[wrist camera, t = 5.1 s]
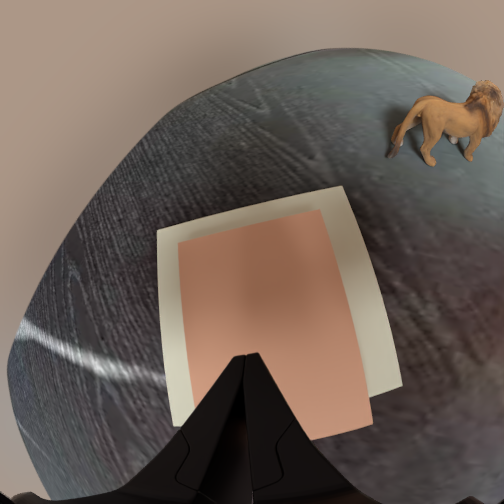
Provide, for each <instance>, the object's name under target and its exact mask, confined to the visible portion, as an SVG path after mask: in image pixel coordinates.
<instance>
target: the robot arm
mask: <svg viewBox="0 0 504 504" xmlns="http://www.w3.org/2000/svg"><path fill="white" fill-rule="evenodd" d="M180 429H181V430H180ZM180 429H179V430H178V431H177V433H176V434H175V435H174V436H173V438H172V439H171V440H170V441H169V442H168V444H167V445H166V446H165V447H164V448H163V449H162V450H161V451H160V452H159V453H158V454H157V456H156V457H155V458H154V459H153V460H152V461H150V462H149V463H148V464H147V465H146V466H145V467H144V468H143V469H142V470H141V471H140V472H139V473H138V474H137V475H135V476H134V477H133V478H132V479H131V480H130V481H129V482H128V483H126V484H125V485H124V486H122V487H120V488H119V489H117V490H114V491H111V492H107V493H103V494H98V495H93V496H88V497H82V498H75V499H68V500H58V501H53V500H46V499H42V498H40V497H39V496H37V495H36V494H34V493H32V492H25V493H20V494H17V495H15V496H13V497H12V498H9V497H8V496H6V495H5V494H4V493H2V492H1V491H0V504H252V490H253V504H381V503H379V502H378V501H376V500H374V499H372V498H371V497H369V496H367V495H366V494H364V493H362V492H361V491H359V490H358V489H357V488H356V487H354V486H353V485H352V484H351V483H350V482H349V481H348V480H347V479H346V478H345V477H344V476H343V475H342V474H341V473H340V472H339V471H338V470H337V469H336V468H335V467H334V466H333V465H332V464H331V463H330V462H329V461H328V460H327V459H326V458H325V456H324V455H323V454H322V453H321V452H320V451H319V450H318V448H317V447H316V446H315V445H314V444H313V442H312V441H311V440H310V438H309V437H308V436H307V434H306V433H305V431H304V430H303V428H302V426H301V425H300V423H299V421H298V420H297V419H296V417H295V415H294V413H293V412H292V410H291V408H290V406H289V405H288V403H287V401H286V400H285V398H284V396H283V394H282V393H281V391H280V389H279V387H278V386H277V384H276V382H275V380H274V379H273V377H272V375H271V373H270V372H269V370H268V368H267V366H266V364H265V363H264V361H263V359H262V357H261V355H260V354H259V353H258V352H255V353H250V354H247V355H245V354H243V355H237V356H234V357H233V358H232V359H231V360H230V362H229V363H228V365H227V366H226V367H225V369H224V370H223V372H222V373H221V374H220V376H219V377H218V378H217V380H216V381H215V383H214V384H213V385H212V387H211V388H210V389H209V391H208V392H207V393H206V395H205V396H204V397H203V399H202V400H201V401H200V403H199V404H198V405H197V407H196V408H195V409H194V411H193V412H192V413H191V415H190V416H189V417H188V419H187V420H186V421H185V422H184V424H183V425H182V426H181V428H180ZM456 504H484V503H483V502H481V501H479V500H478V499H476V498H475V497H473V496H469V497H467V498H465V499H463V500H462V501H460V502H458V503H456ZM498 504H504V499H503V500H502V501H501V502H499V503H498Z"/></svg>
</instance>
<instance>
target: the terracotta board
mask: <svg viewBox="0 0 504 504" xmlns="http://www.w3.org/2000/svg"><path fill="white" fill-rule="evenodd" d="M178 259H179V276H180V290H181V303H182V314H183V324H184V333H185V342H186V351H187V359H188V366H189V373H190V380H191V387H192V394H193V400H194V406H195V408H196V407H197V405H198V404H199V403H200V401H201V400H202V399H203V397H204V396H205V395H206V393H207V392H208V391H209V389H210V388H211V387H212V385H213V384H214V383H215V381H216V380H217V378H218V377H219V376H220V374H221V373H222V372H223V370H224V369H225V367H226V366H227V365H228V363H229V362H230V360H231V359H232V358H233V357H234V356H237V355H243V354H245V355H247V354H250V353H255V352H258V353H259V354H260V355H261V357H262V359H263V361H264V363H265V364H266V366H267V368H268V370H269V372H270V373H271V375H272V377H273V379H274V380H275V382H276V384H277V386H278V387H279V389H280V391H281V393H282V394H283V396H284V398H285V400H286V401H287V403H288V405H289V406H290V408H291V410H292V412H293V413H294V415H295V417H296V419H297V420H298V421H299V423H300V425H301V426H302V428H303V430H304V431H305V433H306V434H307V436H308V437H309V438H310V440H314V439H318V438H323V437H327V436H332V435H336V434H340V433H344V432H347V431H351V430H355V429H358V428H361V427H365V426H368V425H371V424H373V420H372V413H371V407H370V401H369V395H368V390H367V384H366V379H365V374H364V369H363V364H362V359H361V354H360V350H359V345H358V341H357V336H356V332H355V328H354V324H353V320H352V316H351V312H350V308H349V304H348V300H347V296H346V293H345V289H344V285H343V282H342V278H341V275H340V271H339V268H338V264H337V261H336V258H335V254H334V251H333V248H332V245H331V241H330V238H329V235H328V232H327V229H326V226H325V223H324V220H323V217H322V214H321V211H320V209H318V210H313V211H309V212H304V213H300V214H295V215H291V216H287V217H282V218H278V219H274V220H269V221H265V222H261V223H256V224H252V225H248V226H244V227H240V228H235V229H231V230H227V231H223V232H219V233H215V234H211V235H207V236H203V237H199V238H195V239H191V240H187V241H183V242H180V243H178Z"/></svg>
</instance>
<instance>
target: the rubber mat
mask: <svg viewBox="0 0 504 504" xmlns="http://www.w3.org/2000/svg"><path fill="white" fill-rule="evenodd" d="M318 209H320V211H321V214H322V217H323V220H324V223H325V226H326V229H327V232H328V235H329V238H330V241H331V245H332V248H333V251H334V254H335V258H336V261H337V264H338V268H339V271H340V275H341V278H342V282H343V285H344V289H345V293H346V296H347V300H348V304H349V308H350V312H351V316H352V320H353V324H354V328H355V332H356V336H357V341H358V345H359V350H360V354H361V359H362V364H363V369H364V374H365V379H366V384H367V390H368V395H369V397H372V396H375V395H378V394H381V393H384V392H387V391H390V390H392V389H395V388H398V387H401V386H402V380H401V375H400V370H399V365H398V360H397V355H396V350H395V346H394V342H393V337H392V333H391V329H390V325H389V321H388V317H387V313H386V310H385V306H384V303H383V299H382V296H381V292H380V289H379V285H378V282H377V279H376V276H375V273H374V269H373V266H372V263H371V260H370V257H369V254H368V252H367V249H366V246H365V243H364V240H363V237H362V235H361V232H360V229H359V227H358V224H357V221H356V219H355V216H354V214H353V211H352V209H351V206H350V204H349V201H348V199H347V196H346V194H345V192H344V189H343V187H342V186H337V187H332V188H328V189H323V190H318V191H313V192H308V193H304V194H299V195H294V196H290V197H285V198H281V199H277V200H272V201H268V202H264V203H259V204H255V205H251V206H247V207H243V208H239V209H235V210H231V211H227V212H223V213H219V214H215V215H211V216H207V217H204V218H200V219H196V220H192V221H189V222H185V223H181V224H178V225H174V226H171V227H167V228H164V229H160V230H157V266H158V294H159V312H160V325H161V337H162V348H163V357H164V366H165V374H166V382H167V389H168V395H169V402H170V408H171V414H172V420H173V425H174V426H182V425H183V424H184V422H185V421H186V420H187V419H188V417H189V416H190V415H191V413H192V412H193V411H194V409H195V406H194V400H193V394H192V387H191V380H190V373H189V366H188V359H187V351H186V342H185V333H184V324H183V314H182V303H181V290H180V276H179V259H178V243H180V242H183V241H187V240H191V239H195V238H199V237H203V236H207V235H211V234H215V233H219V232H223V231H227V230H231V229H235V228H240V227H244V226H248V225H252V224H256V223H261V222H265V221H269V220H274V219H278V218H282V217H287V216H291V215H295V214H300V213H304V212H309V211H313V210H318Z"/></svg>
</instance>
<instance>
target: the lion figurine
mask: <svg viewBox="0 0 504 504" xmlns="http://www.w3.org/2000/svg"><path fill="white" fill-rule="evenodd" d="M503 108H504V102H503V98H502V95H501V91H500V90H499V88H498V87H497V86H496V85H494V84H493V83H492V82H490V81H489V80H485V81H478V82H476V86H473V88H472V91H471V93H470V96H469V97H468V98H467V100H466V102H465V103H451V102H447V101H445V100H443V99H441V98H438V97H435V96H424V97H421V98H419V99H417V101H416V102H415V103H414V105H413V107H412V109H411V110H410V111H409V113H408V114H407V116H406V117H405V119H404V121H403V122H402V123H401V124H399V125H398V126H396V128H395V130H394V133H393V135H392V138H391V141H392V143H393V144H394V145H395V146H394V148H393V149H392V151H391V152H390V153H389V154H388V158H394V157H395V156H396V154H397V153H398V151H399V148H400V146H402V145H403V137H404V134H405V132H406V130H408V129H411V128H412V127H415V126H417V125H418V124H420V123H422V127H423V134H424V142H423V144H422V146H421V147H420V151H421V153H422V155H423V158H424V160H425V162H426V164H428V165H429V166H435V164H436V160H435V158H434V157H433V156H431V155H430V150H431V148H432V147H433V146H434V145H435V144H436V143H437V141H438V140H439V139H440V137H441V134H442V132H444V133H446V134H448V135H450V136H449V141H450V142H451V143H452V144H457V143H458V138H462V137H467V136H470V141H469V144H468V146H467V147H466V149H465V150H464V157H465V158H466V159H467V160H468V161H472V159H473V157H472V153H473V152H474V150H475V149H476V148H477V147H478V146H479V144H480V142H481V138H484V137H488V136H490V135H491V134H492V132H493V131H494V129H495V128H496V127H497V124H498V122H499V118H500V116H501V115H502V110H503Z"/></svg>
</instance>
